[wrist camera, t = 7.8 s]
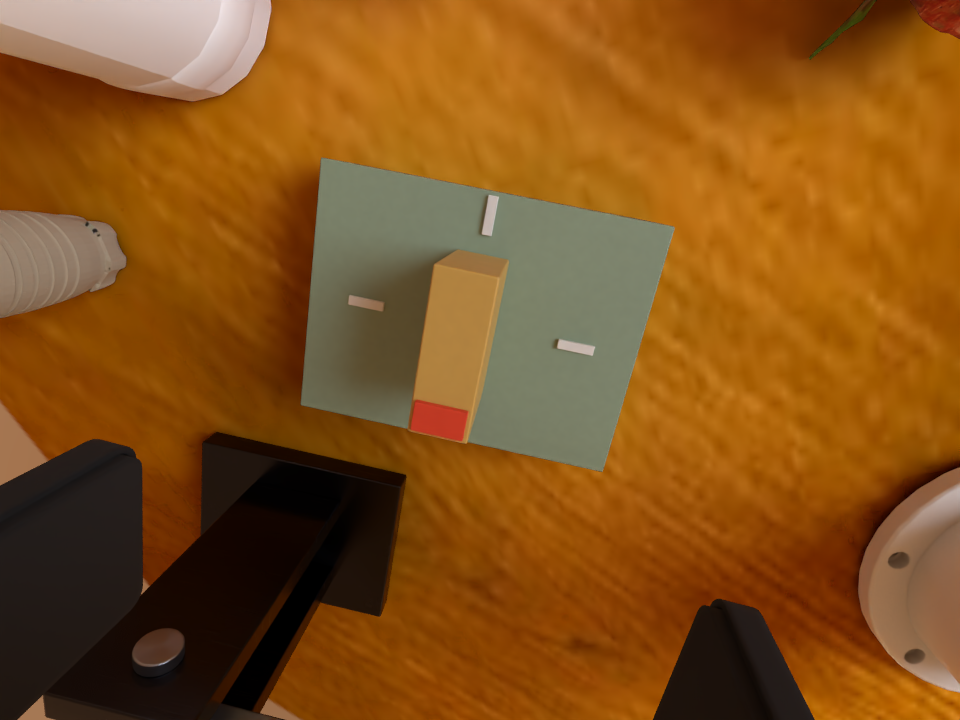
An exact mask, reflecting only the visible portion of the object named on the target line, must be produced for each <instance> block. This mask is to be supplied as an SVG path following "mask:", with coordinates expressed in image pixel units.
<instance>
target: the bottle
mask: <svg viewBox="0 0 960 720" xmlns="http://www.w3.org/2000/svg"><path fill="white" fill-rule="evenodd" d="M271 9H272V8H271V0H0V53H4V54H8V55H11V56H15V57H19V58H22V59H26V60H30V61H34V62H37V63H41V64H45V65H48V66H52V67H56V68H60V69H63V70H67V71H71V72H75V73H78V74H82V75H86V76H89V77H93V78H97V79H100V80H101V81H103V82H105V83H106V84H109V85H112V86H115V87H119V88H122V89H126V90H131V91H136V92H142V93H147V94H153V95H158V96H164V97H169V98H176V99H181V100H187V101H192V102H193V101H198V100H202V99H206V98H210V97H215V96H219V95H222V94H224V93H225V92H226V91H228V90H229V89H230V88H232V87H233V86H234V85H235V84H237V83H238V82H239V81H241V80H242V79H243V78H245V77H246V76H247V75H248V73H249V71H250V70H251V68H252V66H253V64H254V63H255V61H256V59H257V58H258V56H259V54H260V52H261V51H262V49H263V47H264V45H265V39H266V34H267V29H268V24H269V19H270V14H271Z"/></svg>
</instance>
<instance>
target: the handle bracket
mask: <svg viewBox="0 0 960 720" xmlns="http://www.w3.org/2000/svg"><path fill="white" fill-rule="evenodd" d="M405 482H406V475H404V474H400V473H395V472H391V471H387V470H382V469H378V468H373V467H369V466H364V465H360V464H356V463H351V462H347V461H342V460H338V459H334V458H329V457H325V456H320V455H316V454H311V453H307V452H303V451H298V450H294V449H289V448H285V447H281V446H276V445H272V444H267V443H263V442H258V441H254V440H250V439H245V438H241V437H236V436H232V435H228V434H223V433H219V432H216V433H214V434H213V435H212V436H210V437H209V438H208V439H206V440H205V441H203V444H202V497H201V536H200V537H199V538H198V539H197V540H196V541H195V542H194V543H193V544H192V545H191V546H190V547H189V548H188V549H187V550H186V551H185V552H184V553H183V554H182V555H181V556H180V557H179V558H178V559H177V560H176V561H175V562H174V563H173V564H172V565H171V566H170V567H169V568H168V569H167V570H166V571H165V572H164V573H163V574H162V575H161V576H160V577H159V578H158V579H157V580H156V581H155V582H154V583H153V584H152V585H151V586H150V587H149V588H148V589H147V590H146V591H145V592H144V593H143V594H142V595H141V596H140V597H139V599H138V601H137V603H136V604H135V606H134V607H133V608H132V609H131V610H130V611H129V612H128V613H127V614H126V615H125V616H124V617H123V618H122V619H121V620H120V621H119V622H118V623H117V624H116V625H115V626H114V627H113V628H112V629H111V630H110V631H109V632H108V633H107V634H106V635H105V636H104V637H102V638H101V639H100V640H99V641H98V642H97V643H96V644H95V645H94V646H93V647H92V648H91V649H90V650H89V651H88V652H87V653H86V654H85V655H84V656H83V657H82V658H81V659H80V660H79V661H78V662H77V663H75V664H74V665H73V666H72V667H71V668H70V669H69V670H68V671H67V672H66V673H65V674H64V675H63V676H62V677H61V678H60V679H59V680H58V681H57V682H56V683H55V684H54V685H53V686H52V687H51V688H50V689H49V690H47V691H46V692H45V693H44V694H43V700H44V709H45V716H46V717H47V718H51V719H55V720H211V718H212V717H213V715H214V713H215V712H216V710H217V709H218V707H219V706H220V704H225V705H229V706H233V707H237V708H241V709H245V710H249V711H253V712H257V713H260V711H261V710H262V708H263V706H264V705H265V702H266V701H267V699H268V697H269V695H270V694H271V692H272V690H273V688H274V686H275V684H276V683H277V681H278V679H279V677H280V675H281V673H282V672H283V670H284V668H285V666H286V664H287V663H288V661H289V659H290V657H291V655H292V653H293V652H294V650H295V648H296V646H297V644H298V642H299V641H300V639H301V637H302V635H303V633H304V631H305V630H306V628H307V626H308V624H309V622H310V620H311V619H312V617H313V615H314V613H315V611H316V609H317V608H318V606H319V604H320V602H321V603H325V604H329V605H333V606H337V607H341V608H345V609H350V610H354V611H358V612H362V613H366V614H370V615H374V616H379V617H380V616H381V614H382V611H383V609H384V606H385V603H386V601H387V594H388V588H389V582H390V576H391V569H392V563H393V557H394V551H395V545H396V538H397V532H398V526H399V520H400V513H401V507H402V501H403V495H404V489H405Z"/></svg>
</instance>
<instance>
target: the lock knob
mask: <svg viewBox="0 0 960 720" xmlns="http://www.w3.org/2000/svg"><path fill="white" fill-rule="evenodd" d="M508 265H509V260H507V259H503V258H498V257H493V256H488V255H483V254H478V253H474V252H469V251H464V250H456V251H454V252H453V253H451V254H450V255H448V256H446V257H445V258H443V259H442V260H440V261H438V262H437V263H435V264H434V265H433V270H432V277H431V283H430V289H429V296H428V302H427V308H426V314H425V321H424V327H423V333H422V340H421V346H420V352H419V358H418V365H417V371H416V377H415V384H414V390H413V396H412V402H411V409H410V415H409V421H408V428H407V429H408V431H410V432H414V433H419V434H423V435H428V436H432V437H437V438H441V439H446V440H450V441H454V442H459V443H463V444H466V443H467V442H468V439H469V435H470V432H471V429H472V426H473V422H474V419H475V416H476V412H477V409H478V406H479V403H480V399H481V396H482V392H483V387H484V382H485V377H486V373H487V368H488V363H489V358H490V353H491V348H492V343H493V338H494V333H495V329H496V324H497V319H498V314H499V309H500V304H501V299H502V294H503V289H504V284H505V280H506V275H507V270H508Z"/></svg>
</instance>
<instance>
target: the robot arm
mask: <svg viewBox="0 0 960 720" xmlns="http://www.w3.org/2000/svg"><path fill="white" fill-rule="evenodd" d="M142 587H143V531H142V464H141V462H140V460H139V459H137V458H136V454H135V452H134V450H133V449H131V448H130V447H127V446H123V445H119V444H115V443H111V442H107V441H104V440H100V439H92V440H90V441H87V442H85V443H83V444H81V445H79V446H77V447H75V448H73V449H71V450H69V451H67V452H65V453H63V454H61V455H59V456H57V457H55V458H53V459H51V460H49V461H47V462H46V463H44V464H42V465H40V466H38V467H36V468H34V469H32V470H30V471H28V472H26V473H24V474H22V475H20V476H18V477H16V478H14V479H12V480H10V481H8V482H6V483H5V484H3V485H1V486H0V720H17V719H18V718H19V717H20V716H21V715H23V714H24V713H25V712H26V710H28V709H29V708H30V707H31V706H32V705H33V704H34V703H35V702H36V701H37V700H38V699H39V698H40V697H41V696H42V695H43V694H44V693H45V692H46V691H47V690H49V689H50V688H51V687H52V686H53V685H54V684H55V683H56V682H57V681H58V680H59V679H60V678H61V677H62V676H63V675H64V674H65V673H66V672H67V671H68V670H69V669H70V668H71V667H72V666H73V665H74V664H75V663H77V662H78V661H79V660H80V659H81V658H82V657H83V656H84V655H85V654H86V653H87V652H88V651H89V650H90V649H91V648H92V647H93V646H94V645H95V644H96V643H97V642H98V641H99V640H100V639H101V638H102V637H104V636H105V635H106V634H107V633H108V632H109V631H110V630H111V629H112V628H113V627H114V626H115V625H116V624H117V623H118V622H119V621H120V620H121V619H122V618H123V617H124V616H125V615H126V614H127V613H128V612H129V611H130V610H131V609H132V608H133V607H134V606H135V604H136V603H137V601H138V599H139V597H140V595H141V592H142ZM858 594H859V600H860V605H861V610H862V613H863V615H864V617H865V619H866V622H867V624H868V626H869V628H870V630H871V631H872V633H873V634H874V635H875V636H876V638H877V639H878V640H879V642H880V643H881V645H882V646H883V647H884V649H885V650H886V651H887V653H888V654H889V655H890V656H891V657H892V658H893V659H894V660H895V661H896V662H897V663H898V664H899V665H900V666H902V667H903V668H905V669H906V670H908V671H909V672H911V673H912V674H914V675H916V676H917V677H919V678H920V679H922V680H924V681H926V682H929V683H931V684H934V685H936V686H939V687H941V688H944V689H946V690H951V691H955V692H959V693H960V467H959V468H956V469H954V470H951V471H949V472H947V473H944V474H942V475H941V476H939V477H937V478H936V479H934V480H932V481H931V482H929V483H927V484H926V485H924V486H922V487H921V488H919V489H917V490H916V491H915V492H914V493H913V494H911V495H910V496H909V497H908V498H907V499H905V500H904V501H903V502H902V503H901V504H899V505H898V506H897V507H896V508H895V509H894V510H893V511H892V512H891V514H890V515H889V516H888V517H887V518H886V519H885V521H884V522H883V523H882V524H881V525H880V526H879V528H878V529H877V531H876V533H875V534H874V536H873V538H872V540H871V541H870V543H869V545H868V547H867V548H866V551H865V554H864V557H863V561H862V564H861V567H860V570H859V584H858ZM653 720H815V719H814V717H813V715H812V713H811V712H810V710H809V708H808V706H807V704H806V702H805V700H804V698H803V696H802V694H801V692H800V690H799V688H798V686H797V684H796V682H795V680H794V678H793V676H792V674H791V672H790V670H789V668H788V666H787V664H786V662H785V660H784V658H783V656H782V654H781V652H780V650H779V648H778V646H777V644H776V642H775V640H774V638H773V636H772V634H771V632H770V630H769V628H768V626H767V624H766V622H765V620H764V618H763V616H762V615H761V613H760V612H759V610H757V609H755V608H753V607H749V606H745V605H741V604H737V603H733V602H730V601H726V600H722V599H716V600H714V601H713V602H712V604H711V605H710V606H706V605H703V606H701V607H700V608H699V610H698V612H697V614H696V617H695V619H694V621H693V624H692V626H691V629H690V631H689V633H688V636H687V638H686V641H685V643H684V646H683V648H682V650H681V653H680V655H679V658H678V660H677V663H676V665H675V667H674V670H673V672H672V675H671V677H670V679H669V682H668V684H667V687H666V689H665V692H664V694H663V696H662V699H661V701H660V704H659V706H658V709H657V711H656V713H655V716H654V718H653Z"/></svg>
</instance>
